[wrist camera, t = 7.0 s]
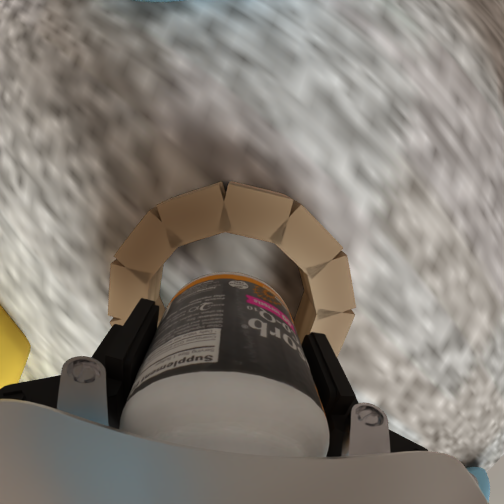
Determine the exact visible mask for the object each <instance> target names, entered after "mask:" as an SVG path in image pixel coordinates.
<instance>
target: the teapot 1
mask: <svg viewBox="0 0 504 504" xmlns="http://www.w3.org/2000/svg"><path fill="white" fill-rule="evenodd" d="M30 347H31V346H30V343H29V341H28V340H27V338H26V337H25V335H24V334H23V333H22V331H21V330H20V329H19V328H18V326H17V325H16V324H15V323H14V321H13V320H12V319H11V318H10V316H9V315H8V314H7V313H6V311H5V310H4V309H3V308H2V306H1V305H0V389H1V388H2V387H4V386H6V385H10V384H15V383H18V382H19V380H20V377H21V374H22V372H23V369H24V367H25V364H26V361H27V359H28V356H29V353H30Z"/></svg>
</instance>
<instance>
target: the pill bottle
mask: <svg viewBox="0 0 504 504" xmlns="http://www.w3.org/2000/svg"><path fill="white" fill-rule="evenodd" d="M119 429H120V430H123V431H127V432H130V433H134V434H138V435H142V436H145V437H149V438H154V439H158V440H162V441H167V442H171V443H176V444H181V445H187V446H192V447H198V448H204V449H211V450H217V451H225V452H233V453H242V454H253V455H266V456H284V457H326V455H327V452H328V447H329V428H328V423H327V419H326V416H325V412H324V409H323V406H322V403H321V400H320V398H319V395H318V391H317V388H316V386H315V383H314V381H313V378H312V375H311V372H310V368H309V365H308V362H307V360H306V357H305V355H304V352H303V349H302V346H301V343H300V340H299V337H298V334H297V331H296V329H295V326H294V322H293V319H292V317H291V314H290V312H289V310H288V308H287V306H286V304H285V302H284V301H283V299H282V298H281V296H280V295H279V294H278V293H277V292H276V291H275V290H274V289H273V288H272V287H270V286H269V285H268V284H266V283H265V282H263V281H261V280H259V279H257V278H255V277H252V276H249V275H246V274H242V273H236V272H217V273H212V274H207V275H204V276H201V277H199V278H196V279H194V280H193V281H191V282H189V283H188V284H186V285H185V286H184V287H183V288H181V289H180V290H179V291H178V292H177V293H176V295H175V296H174V297H173V299H172V300H171V301H170V303H169V305H168V307H167V308H166V310H165V312H164V314H163V316H162V319H161V321H160V323H159V326H158V328H157V330H156V332H155V335H154V337H153V339H152V341H151V344H150V346H149V348H148V350H147V352H146V355H145V357H144V359H143V362H142V364H141V366H140V368H139V371H138V373H137V375H136V378H135V381H134V384H133V386H132V389H131V391H130V394H129V396H128V399H127V402H126V404H125V406H124V408H123V411H122V415H121V418H120V426H119Z"/></svg>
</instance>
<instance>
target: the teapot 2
mask: <svg viewBox="0 0 504 504" xmlns="http://www.w3.org/2000/svg"><path fill="white" fill-rule="evenodd" d="M134 1H143V2H172V1H183V0H134Z"/></svg>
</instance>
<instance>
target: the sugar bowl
mask: <svg viewBox="0 0 504 504" xmlns="http://www.w3.org/2000/svg"><path fill="white" fill-rule="evenodd" d="M466 469H467V470H468V471H469V472H470V473H471V474H473V475H474V476H475V477H476V478H477V480H478V484H479V488H480V489H481V491H482V493H483V494H484V496H485V498H486V499H487V501H488V503H489V495H490V484H489V479H488V476H487V473H486V471H485V470H484V469H483V468H479V467H467V468H466Z"/></svg>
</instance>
